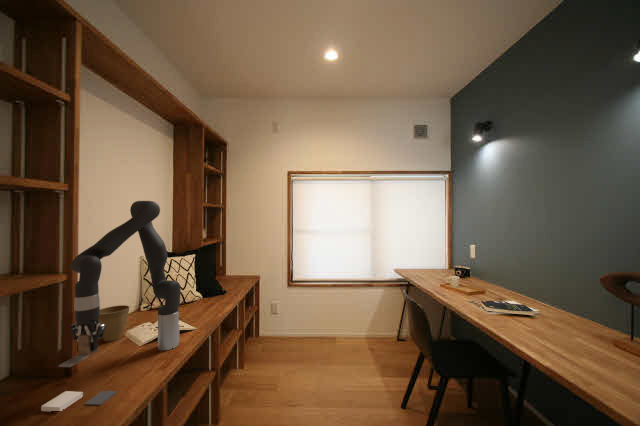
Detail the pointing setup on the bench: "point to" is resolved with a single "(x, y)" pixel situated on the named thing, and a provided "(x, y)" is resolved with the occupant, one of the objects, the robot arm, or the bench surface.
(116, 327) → the plant pot
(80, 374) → the bench surface
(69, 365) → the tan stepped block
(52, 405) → the slab tile
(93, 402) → the mat
